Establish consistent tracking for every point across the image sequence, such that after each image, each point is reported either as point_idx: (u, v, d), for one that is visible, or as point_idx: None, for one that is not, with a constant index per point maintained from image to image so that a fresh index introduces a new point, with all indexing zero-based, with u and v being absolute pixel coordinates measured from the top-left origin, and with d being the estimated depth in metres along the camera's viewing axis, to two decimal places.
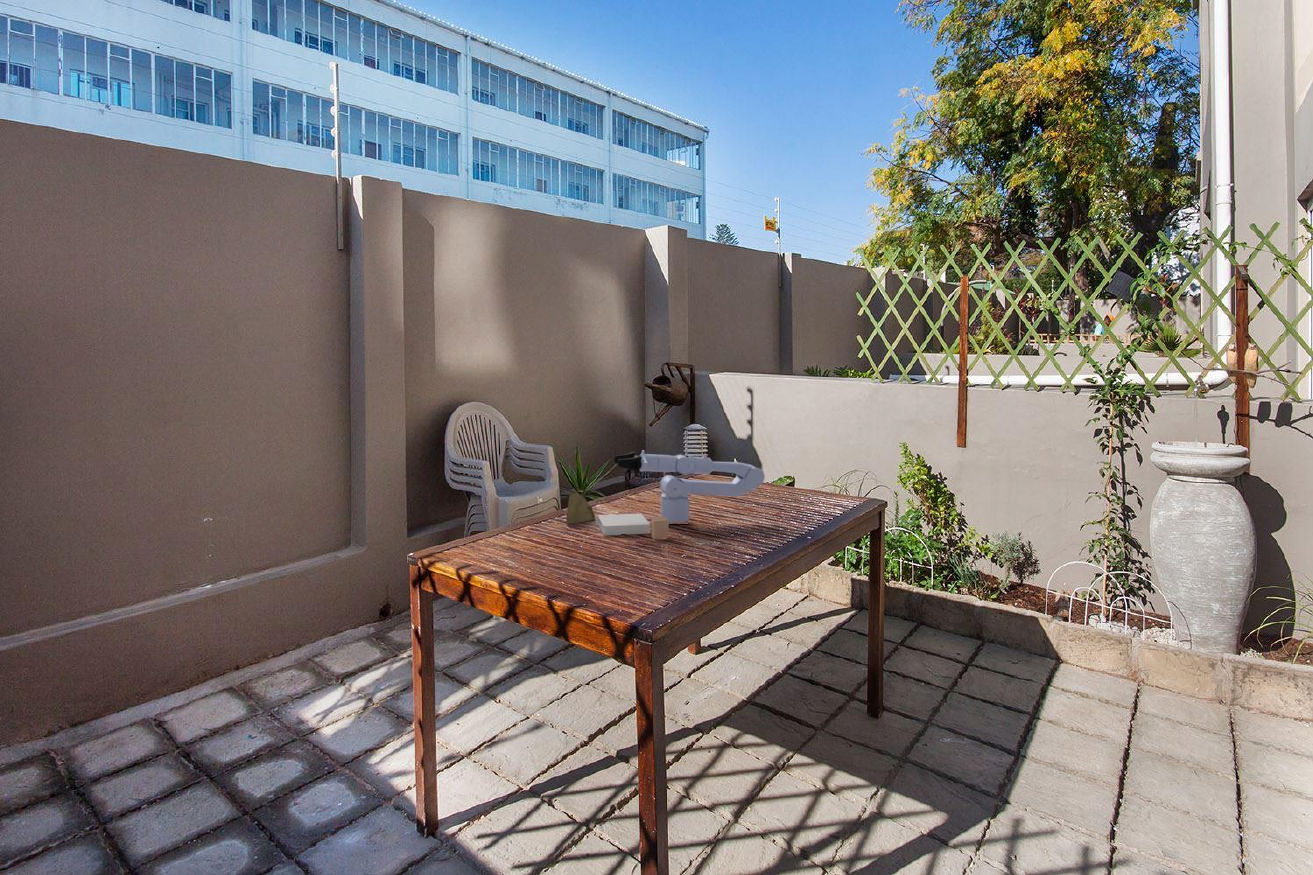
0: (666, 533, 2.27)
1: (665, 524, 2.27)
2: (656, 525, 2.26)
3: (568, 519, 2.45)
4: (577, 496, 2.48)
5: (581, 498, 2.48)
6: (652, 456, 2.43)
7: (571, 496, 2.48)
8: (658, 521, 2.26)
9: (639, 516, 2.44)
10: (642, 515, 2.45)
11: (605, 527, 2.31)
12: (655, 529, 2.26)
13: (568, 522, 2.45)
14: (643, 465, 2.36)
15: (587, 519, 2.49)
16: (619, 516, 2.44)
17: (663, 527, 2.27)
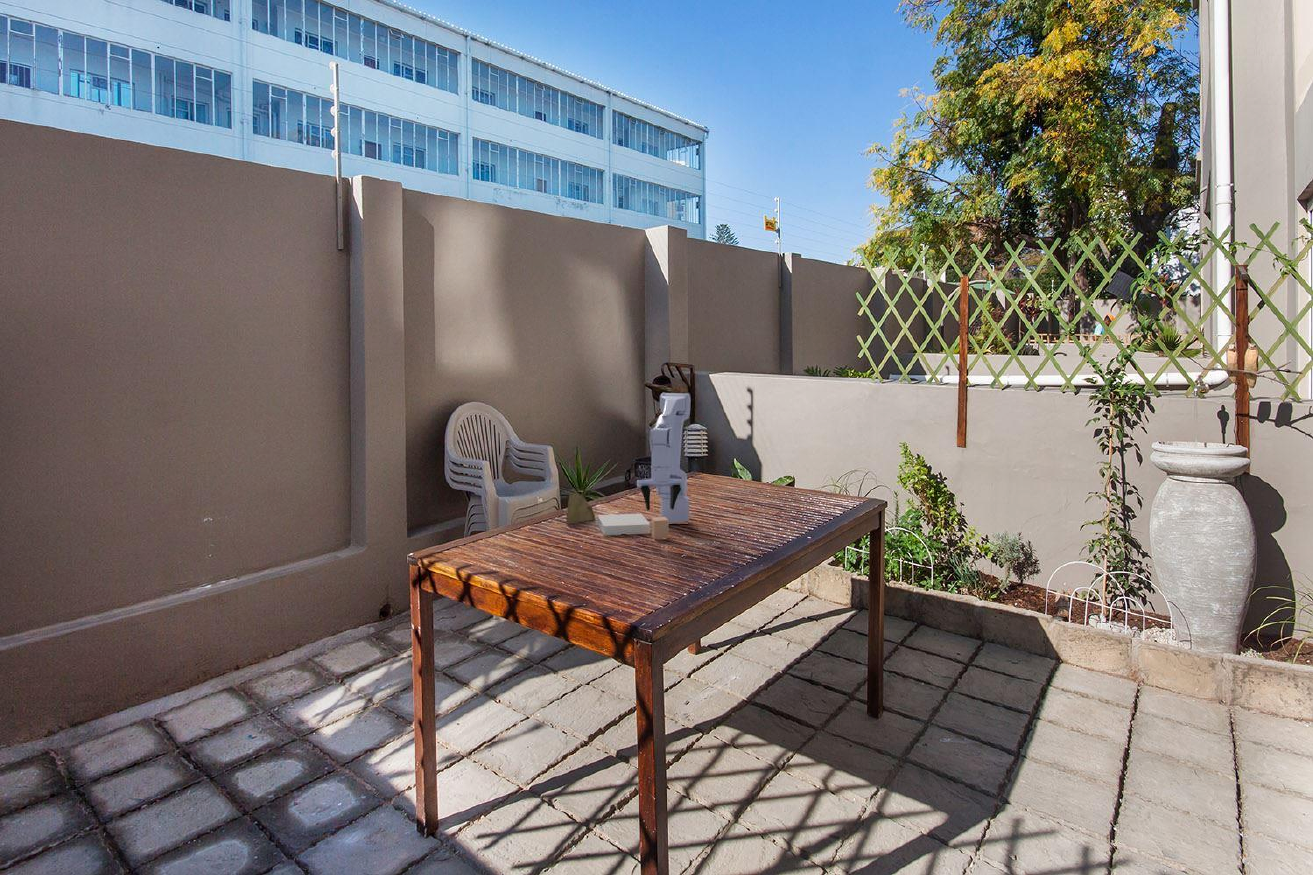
0: (666, 533, 2.27)
1: (665, 524, 2.27)
2: (656, 525, 2.26)
3: (568, 519, 2.45)
4: (577, 496, 2.48)
5: (581, 498, 2.48)
6: (667, 473, 2.25)
7: (571, 496, 2.48)
8: (658, 521, 2.26)
9: (639, 516, 2.44)
10: (642, 515, 2.45)
11: (605, 527, 2.31)
12: (655, 529, 2.26)
13: (568, 522, 2.45)
14: None
15: (587, 519, 2.49)
16: (619, 516, 2.44)
17: (663, 527, 2.27)
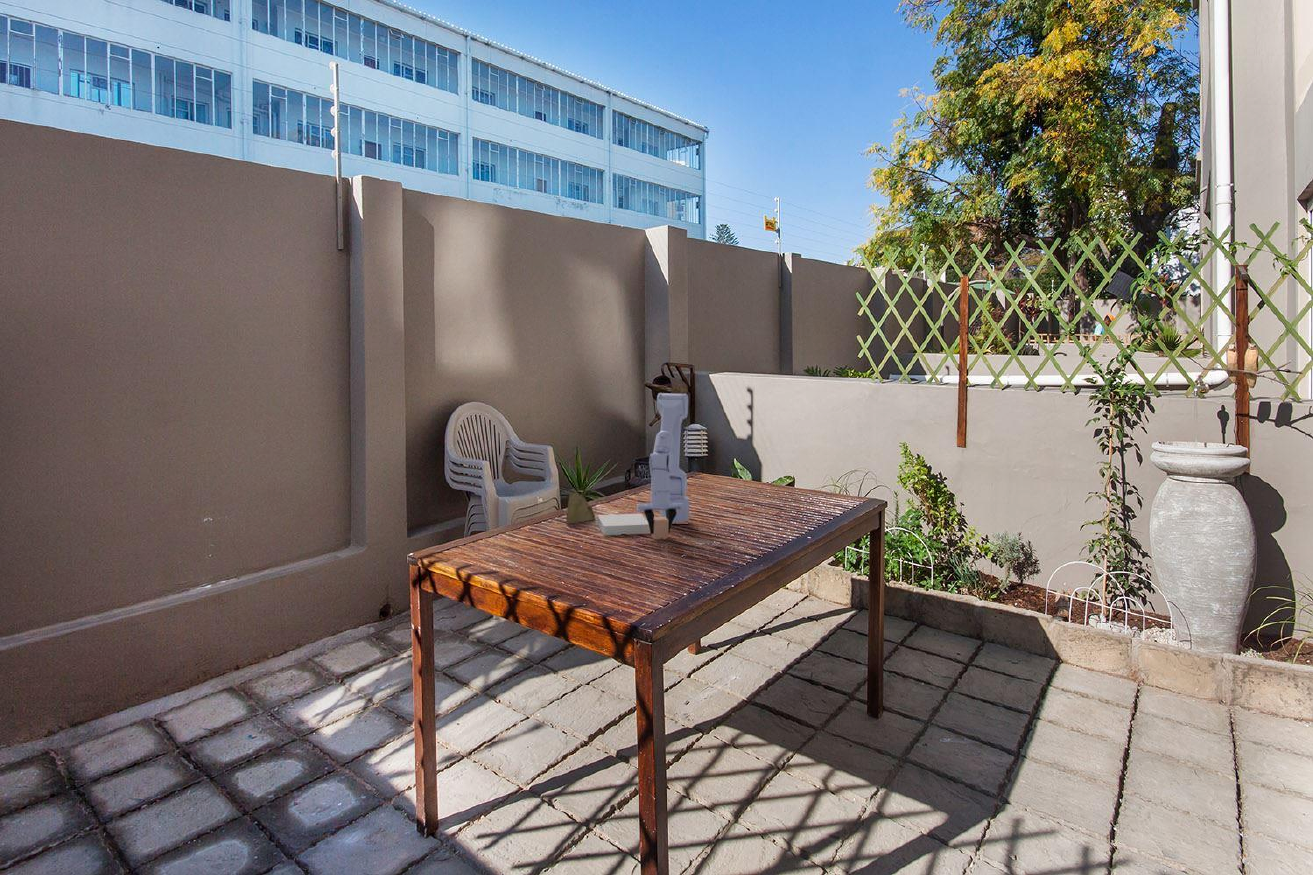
0: (666, 533, 2.27)
1: (665, 524, 2.27)
2: (656, 525, 2.26)
3: (568, 519, 2.45)
4: (577, 496, 2.48)
5: (581, 498, 2.48)
6: (666, 497, 2.26)
7: (571, 496, 2.48)
8: (658, 521, 2.26)
9: (639, 516, 2.44)
10: (642, 515, 2.45)
11: (605, 527, 2.31)
12: (655, 529, 2.26)
13: (568, 522, 2.45)
14: None
15: (587, 519, 2.49)
16: (619, 516, 2.44)
17: (663, 527, 2.27)
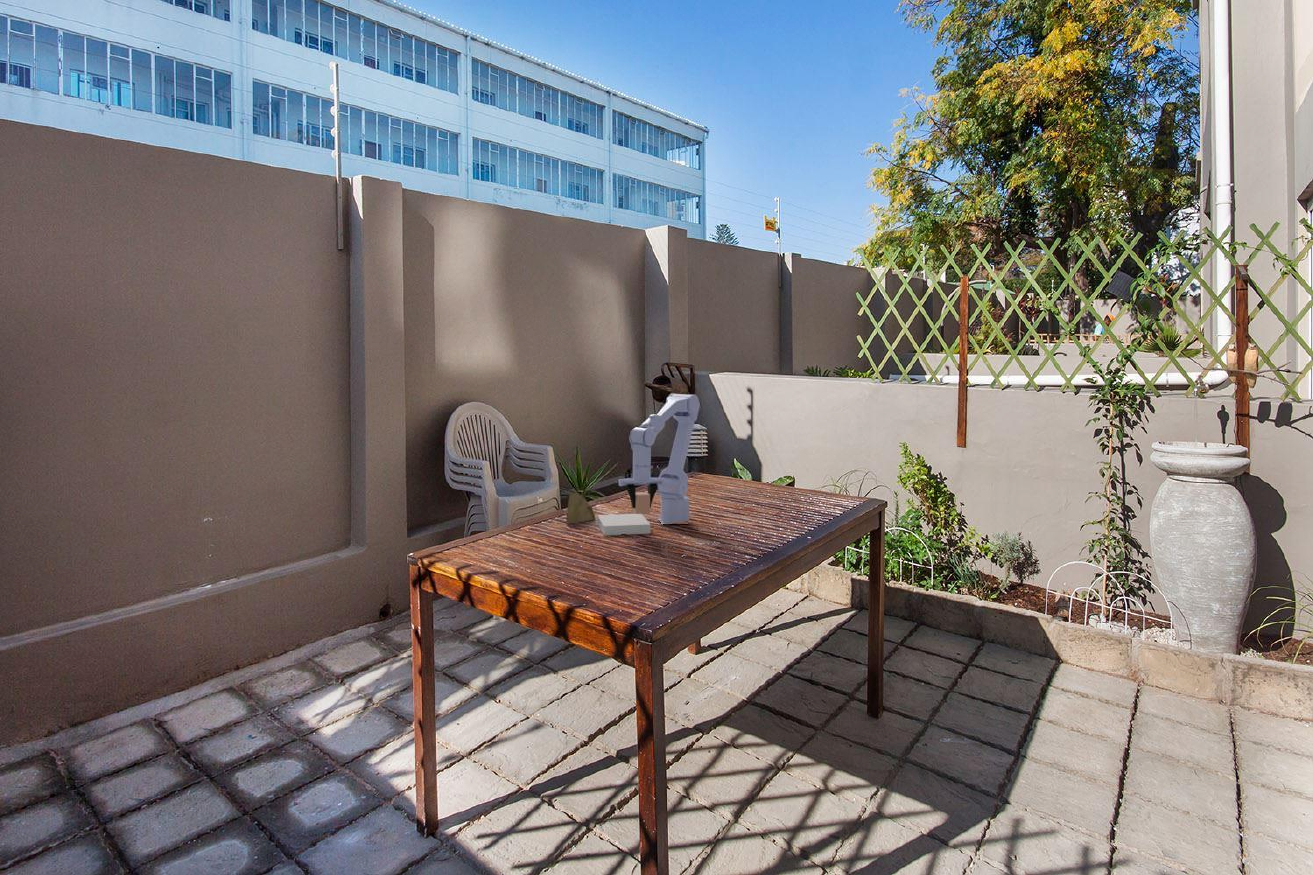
0: (648, 507, 2.31)
1: (647, 499, 2.31)
2: (638, 500, 2.30)
3: (568, 519, 2.45)
4: (577, 496, 2.48)
5: (581, 498, 2.48)
6: (647, 472, 2.30)
7: (571, 496, 2.48)
8: (640, 496, 2.30)
9: (639, 516, 2.44)
10: (642, 515, 2.45)
11: (605, 527, 2.31)
12: (637, 504, 2.31)
13: (568, 522, 2.45)
14: None
15: (587, 519, 2.49)
16: (619, 516, 2.44)
17: (644, 501, 2.31)
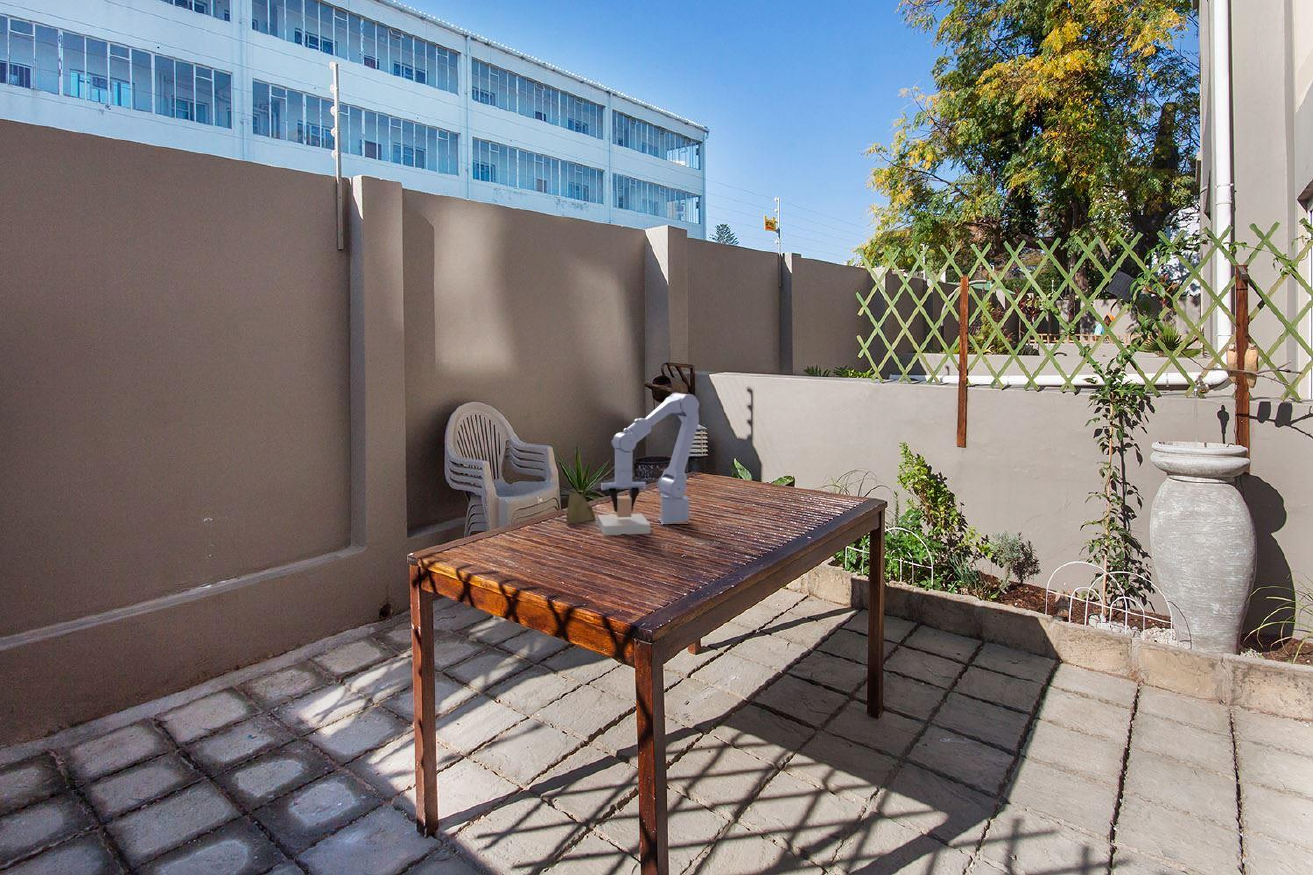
0: (629, 511, 2.37)
1: (628, 503, 2.36)
2: (620, 504, 2.36)
3: (568, 519, 2.45)
4: (577, 496, 2.48)
5: (581, 498, 2.48)
6: (629, 476, 2.35)
7: (571, 496, 2.48)
8: (621, 499, 2.36)
9: (639, 516, 2.44)
10: (642, 515, 2.45)
11: (605, 527, 2.31)
12: (618, 507, 2.36)
13: (568, 522, 2.45)
14: None
15: (587, 519, 2.49)
16: None
17: (626, 505, 2.36)
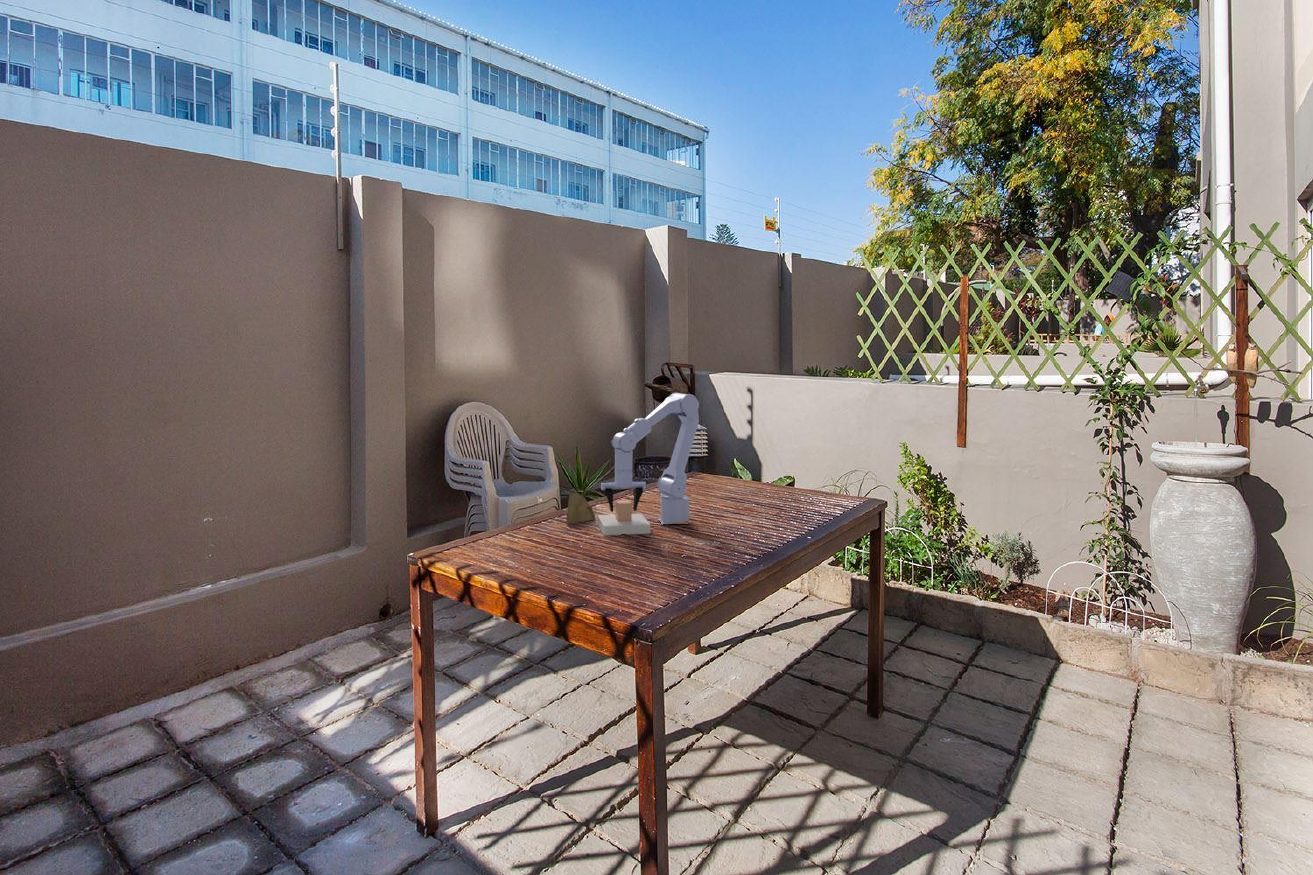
0: (629, 515, 2.37)
1: (628, 507, 2.37)
2: (620, 508, 2.36)
3: (568, 519, 2.45)
4: (577, 496, 2.48)
5: (581, 498, 2.48)
6: (629, 476, 2.35)
7: (571, 496, 2.48)
8: (622, 504, 2.36)
9: (639, 516, 2.44)
10: (642, 515, 2.45)
11: (605, 527, 2.31)
12: (619, 511, 2.36)
13: (568, 522, 2.45)
14: None
15: (587, 519, 2.49)
16: None
17: (626, 509, 2.37)
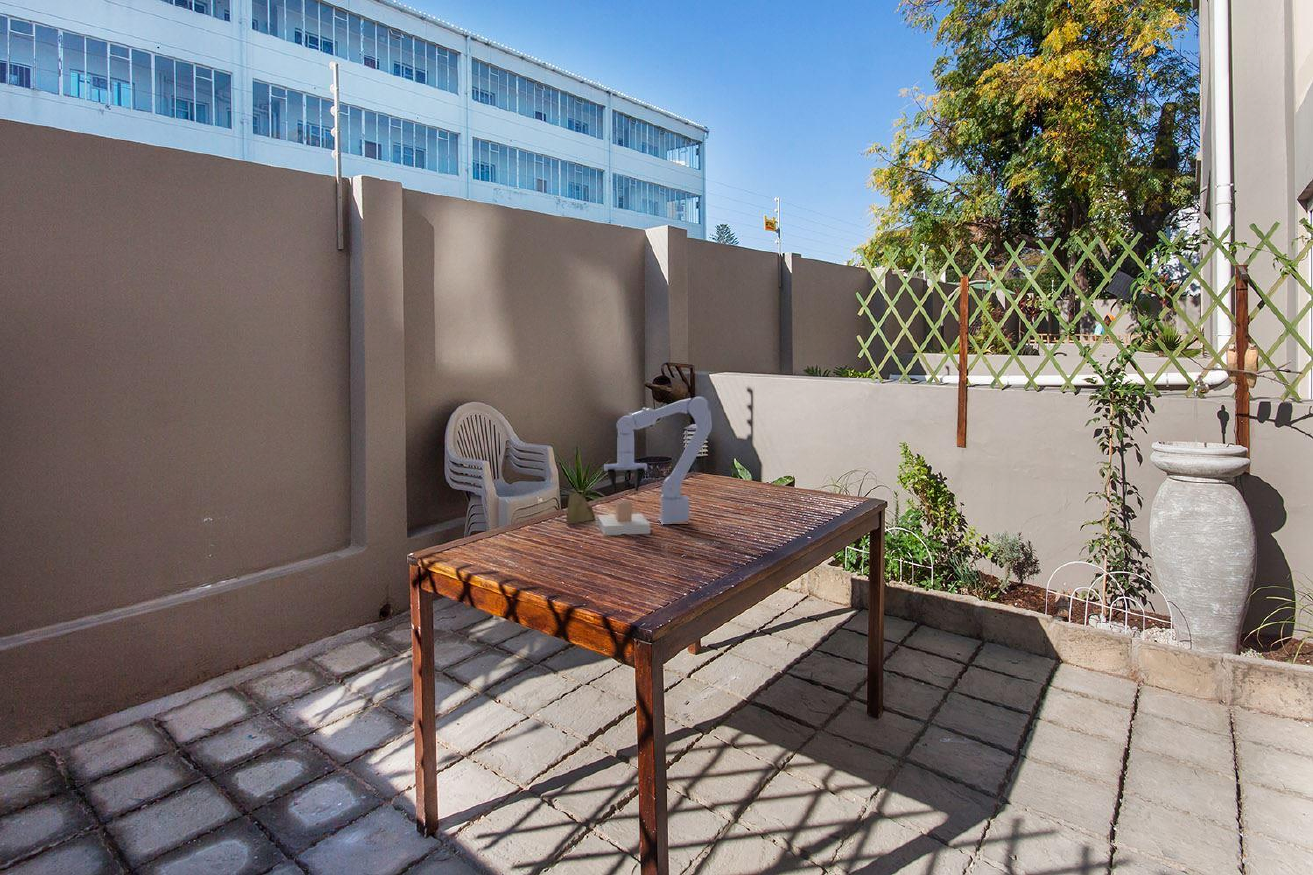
0: (629, 515, 2.37)
1: (628, 507, 2.37)
2: (620, 508, 2.36)
3: (568, 519, 2.45)
4: (577, 496, 2.48)
5: (581, 498, 2.48)
6: (631, 457, 2.45)
7: (571, 496, 2.48)
8: (622, 504, 2.36)
9: (639, 516, 2.44)
10: (642, 515, 2.45)
11: (605, 527, 2.31)
12: (619, 511, 2.36)
13: (568, 522, 2.45)
14: None
15: (587, 519, 2.49)
16: None
17: (626, 509, 2.37)
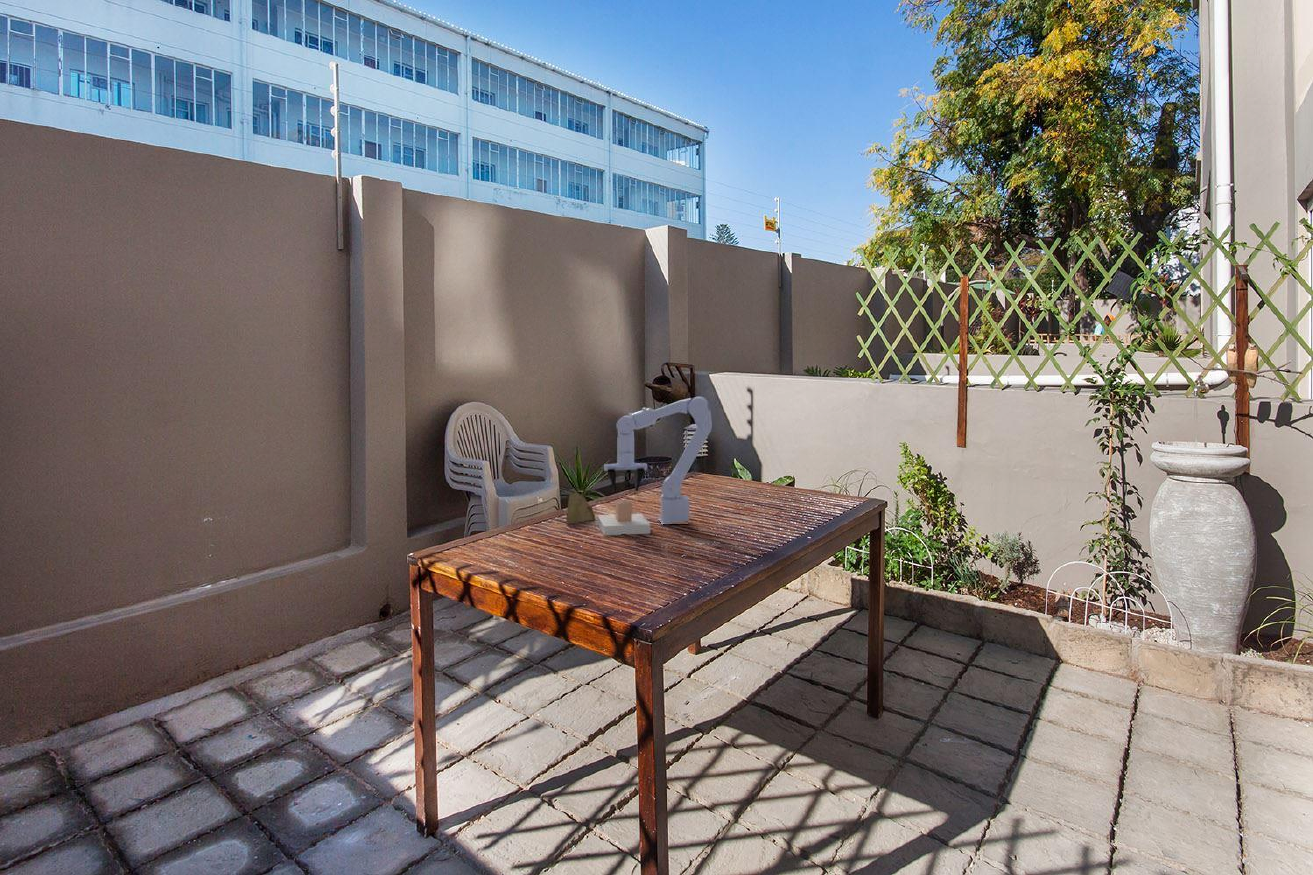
0: (629, 515, 2.37)
1: (628, 507, 2.37)
2: (620, 508, 2.36)
3: (568, 519, 2.45)
4: (577, 496, 2.48)
5: (581, 498, 2.48)
6: (631, 457, 2.45)
7: (571, 496, 2.48)
8: (622, 504, 2.36)
9: (639, 516, 2.44)
10: (642, 515, 2.45)
11: (605, 527, 2.31)
12: (619, 511, 2.36)
13: (568, 522, 2.45)
14: None
15: (587, 519, 2.49)
16: None
17: (626, 509, 2.37)
